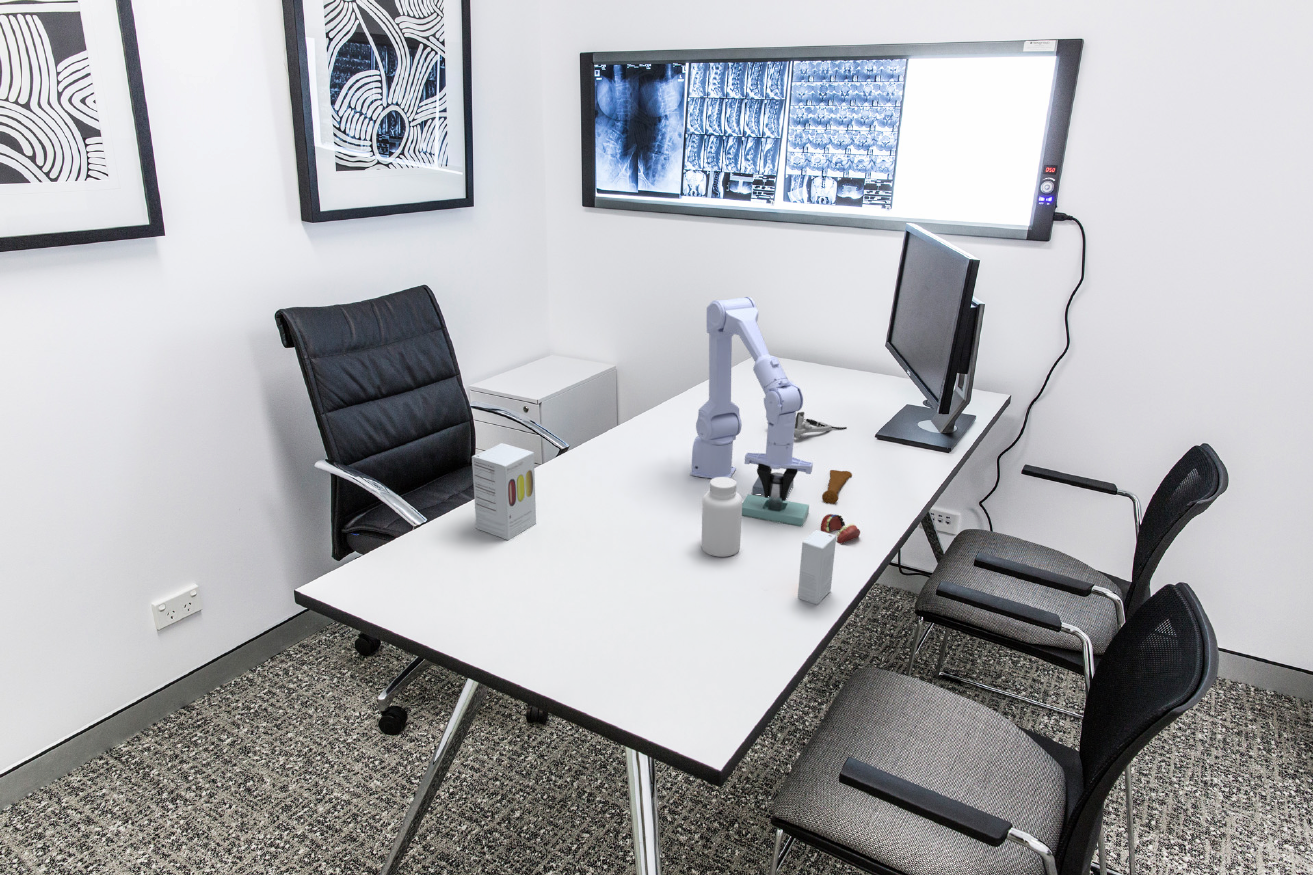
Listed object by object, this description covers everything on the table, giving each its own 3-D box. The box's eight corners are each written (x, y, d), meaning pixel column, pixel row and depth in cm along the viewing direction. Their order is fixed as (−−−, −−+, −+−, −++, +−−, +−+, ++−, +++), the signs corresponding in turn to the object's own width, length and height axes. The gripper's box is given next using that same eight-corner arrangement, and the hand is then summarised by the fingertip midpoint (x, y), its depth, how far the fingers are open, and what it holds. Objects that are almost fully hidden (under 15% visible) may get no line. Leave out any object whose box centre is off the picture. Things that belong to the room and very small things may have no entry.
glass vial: (766, 510, 187) (769, 476, 184) (768, 504, 190) (771, 471, 187) (780, 512, 186) (784, 478, 183) (783, 506, 189) (786, 473, 186)
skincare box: (810, 583, 162) (816, 528, 157) (831, 591, 160) (837, 535, 155) (796, 598, 157) (801, 541, 153) (817, 605, 155) (823, 548, 150)
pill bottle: (698, 539, 177) (701, 473, 171) (736, 538, 178) (740, 473, 172) (703, 558, 170) (706, 491, 164) (742, 557, 170) (747, 490, 165)
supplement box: (508, 541, 175) (504, 466, 168) (474, 529, 179) (469, 456, 173) (537, 523, 182) (535, 451, 176) (505, 511, 187) (501, 441, 180)
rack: (739, 515, 187) (740, 507, 186) (747, 502, 193) (747, 494, 192) (802, 526, 183) (803, 518, 182) (808, 512, 189) (809, 504, 188)
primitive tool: (830, 471, 211) (831, 458, 210) (852, 474, 210) (854, 461, 208) (820, 504, 194) (822, 490, 193) (844, 508, 193) (846, 494, 191)
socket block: (752, 493, 197) (752, 486, 196) (760, 480, 204) (760, 472, 203) (786, 499, 195) (786, 492, 194) (793, 485, 202) (793, 478, 201)
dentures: (846, 529, 174) (819, 514, 180) (844, 547, 175) (816, 531, 181) (865, 523, 177) (837, 508, 183) (862, 541, 178) (835, 526, 184)
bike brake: (799, 442, 224) (845, 436, 238) (804, 418, 223) (849, 412, 236) (761, 428, 234) (807, 423, 247) (765, 404, 232) (811, 400, 245)
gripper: (742, 442, 180) (738, 499, 185) (810, 452, 176) (804, 510, 181) (750, 430, 186) (746, 486, 191) (816, 440, 182) (810, 497, 187)
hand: (775, 497), depth 186 cm, fingers closed on glass vial, 3 cm apart
